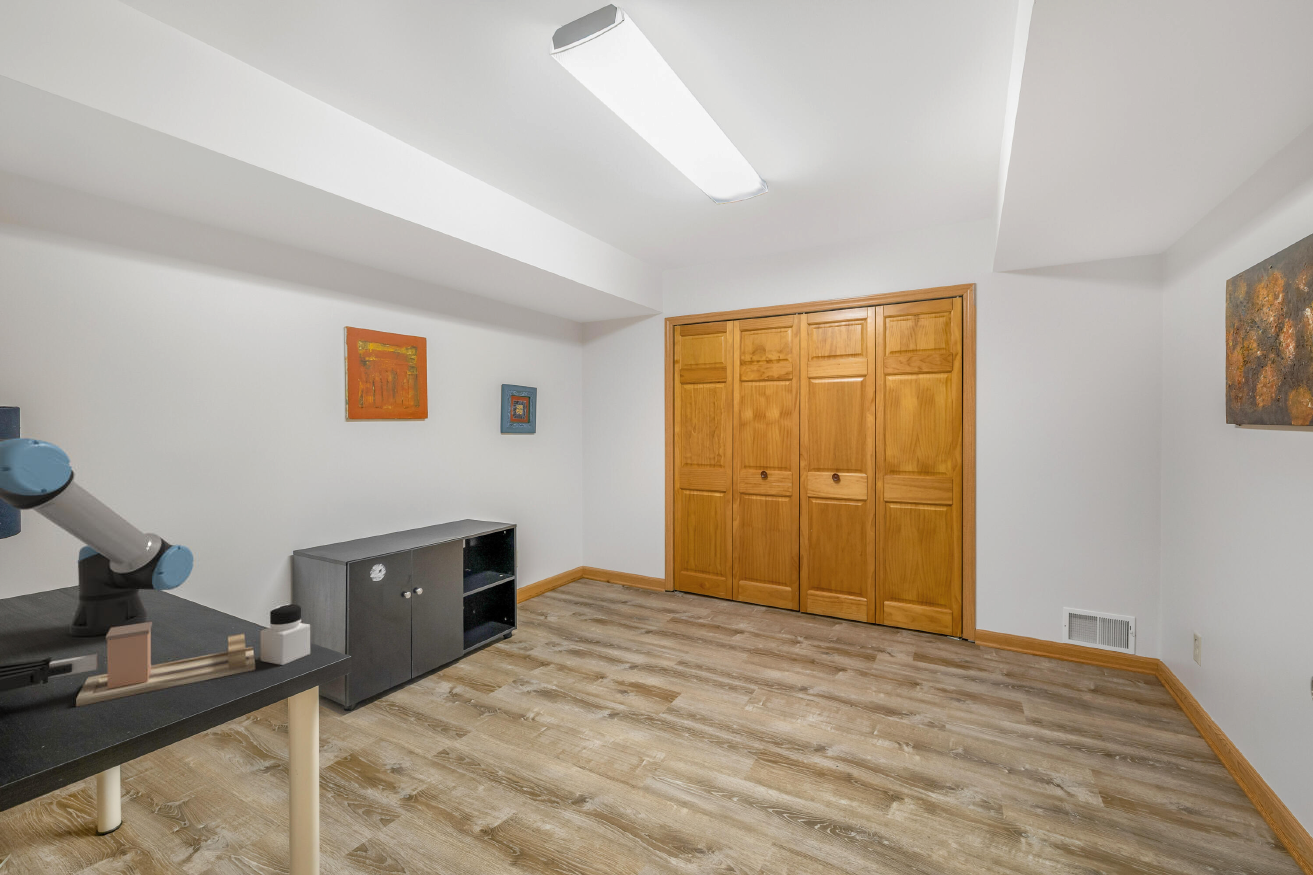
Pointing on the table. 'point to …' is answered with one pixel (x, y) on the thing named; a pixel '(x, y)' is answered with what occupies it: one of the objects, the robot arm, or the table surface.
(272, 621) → the medicine bottle
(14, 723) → the table surface
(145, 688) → the rail track
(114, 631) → the pink box with lid
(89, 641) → the table surface
